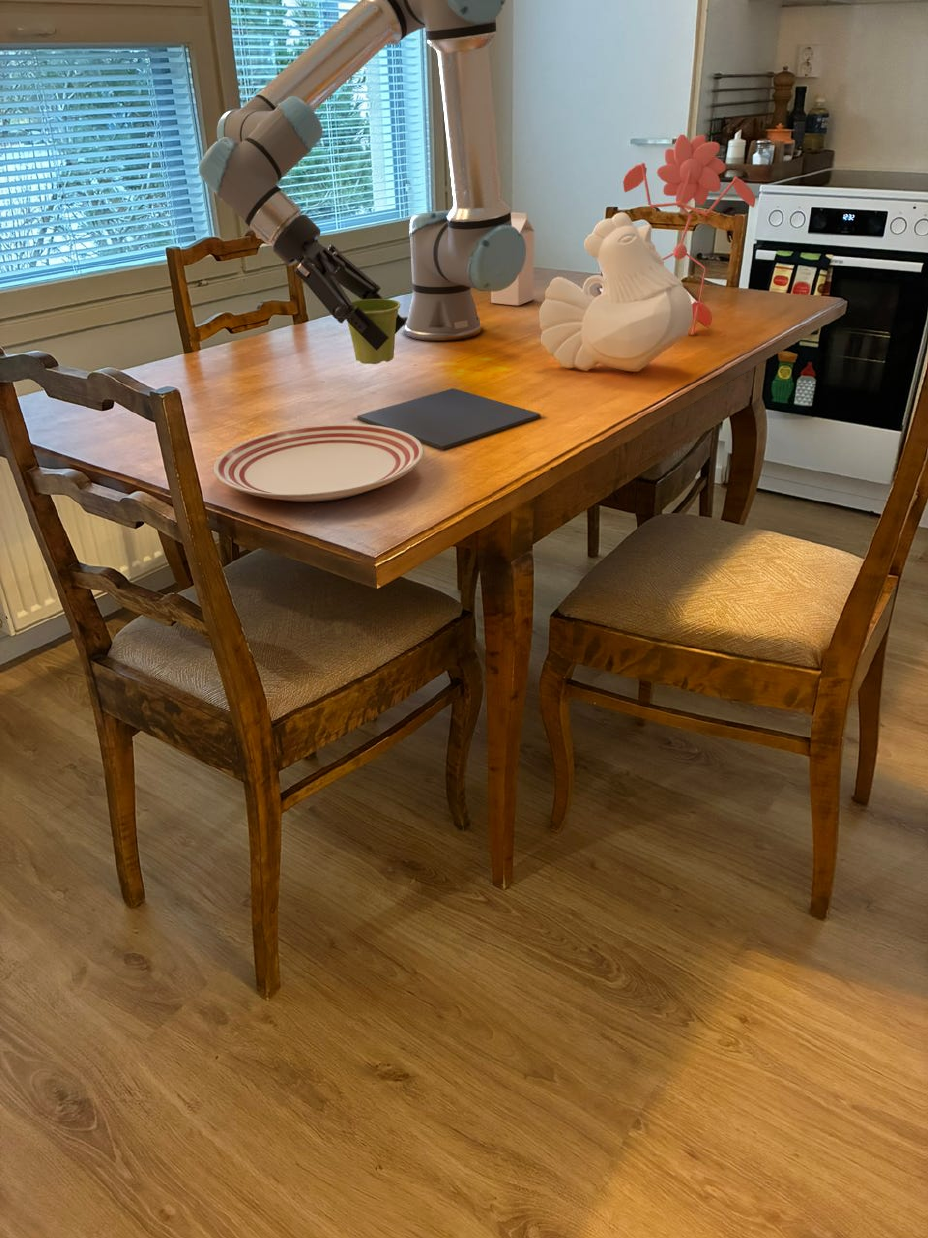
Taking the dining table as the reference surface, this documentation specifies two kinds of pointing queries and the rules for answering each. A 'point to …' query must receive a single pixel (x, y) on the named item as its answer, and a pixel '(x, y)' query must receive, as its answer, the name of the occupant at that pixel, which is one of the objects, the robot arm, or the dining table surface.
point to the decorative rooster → (616, 304)
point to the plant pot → (385, 319)
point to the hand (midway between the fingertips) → (391, 335)
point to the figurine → (690, 191)
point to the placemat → (449, 417)
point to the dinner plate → (319, 461)
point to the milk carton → (524, 283)
